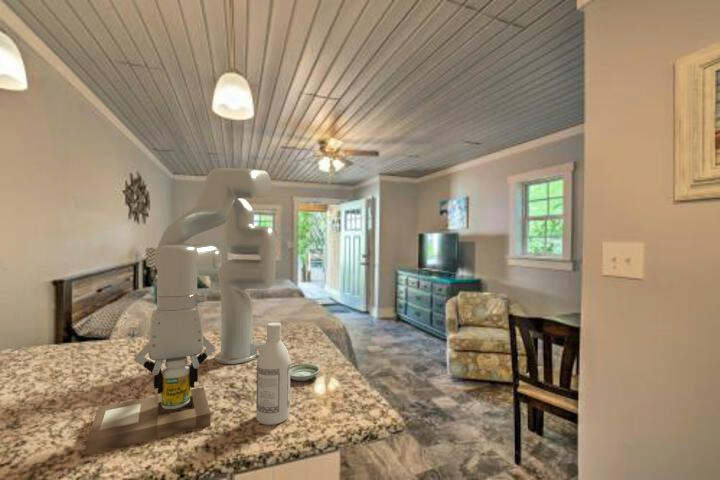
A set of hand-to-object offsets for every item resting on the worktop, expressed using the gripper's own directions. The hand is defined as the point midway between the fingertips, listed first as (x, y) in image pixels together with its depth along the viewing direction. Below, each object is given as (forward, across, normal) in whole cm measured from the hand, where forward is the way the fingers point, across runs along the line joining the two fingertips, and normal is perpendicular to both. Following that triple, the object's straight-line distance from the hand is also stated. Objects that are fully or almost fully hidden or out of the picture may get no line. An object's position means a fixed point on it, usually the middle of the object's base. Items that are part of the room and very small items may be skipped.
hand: (176, 387), depth 71 cm
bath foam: (+7, -18, +10) cm, 22 cm away
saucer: (+7, -31, -7) cm, 33 cm away
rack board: (+6, +4, 0) cm, 7 cm away
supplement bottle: (+4, 0, 0) cm, 4 cm away
